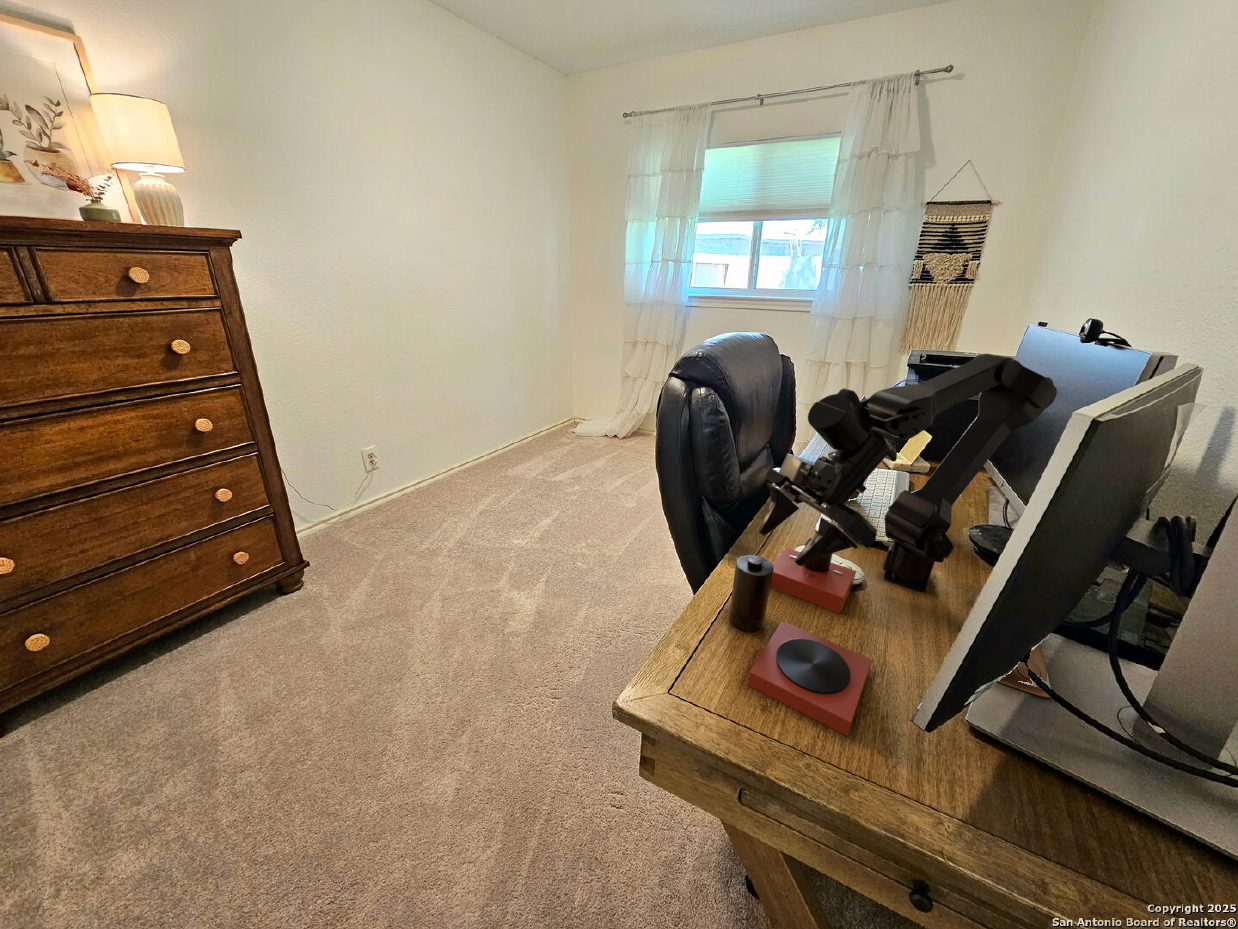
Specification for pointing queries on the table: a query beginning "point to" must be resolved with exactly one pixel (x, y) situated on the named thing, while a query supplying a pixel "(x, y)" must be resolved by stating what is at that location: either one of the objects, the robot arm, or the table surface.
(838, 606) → the control panel
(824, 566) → the hob knob
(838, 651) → the hot plate
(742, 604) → the black battery
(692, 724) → the table surface
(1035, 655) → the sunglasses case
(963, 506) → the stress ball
